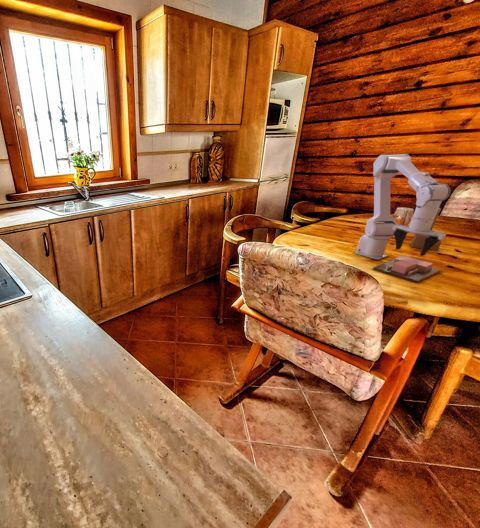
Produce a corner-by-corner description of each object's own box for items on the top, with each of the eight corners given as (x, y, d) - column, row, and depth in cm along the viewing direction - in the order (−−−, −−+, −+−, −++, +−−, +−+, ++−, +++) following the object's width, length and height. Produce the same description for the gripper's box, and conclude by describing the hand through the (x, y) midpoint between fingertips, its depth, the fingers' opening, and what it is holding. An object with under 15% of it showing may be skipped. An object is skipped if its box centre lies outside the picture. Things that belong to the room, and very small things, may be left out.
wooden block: (436, 248, 131) (452, 210, 124) (437, 251, 128) (454, 213, 121) (410, 244, 137) (424, 208, 130) (411, 247, 134) (425, 210, 127)
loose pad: (390, 269, 112) (393, 263, 111) (401, 266, 114) (403, 259, 113) (404, 274, 108) (406, 267, 107) (414, 270, 110) (417, 263, 109)
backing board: (372, 269, 115) (375, 261, 114) (396, 260, 122) (398, 253, 120) (416, 283, 103) (420, 274, 102) (439, 272, 110) (443, 264, 109)
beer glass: (383, 234, 152) (392, 207, 146) (395, 234, 152) (404, 206, 146) (395, 238, 145) (405, 210, 139) (407, 237, 146) (418, 209, 140)
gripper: (455, 220, 98) (440, 255, 104) (405, 212, 110) (393, 244, 116) (445, 223, 96) (430, 259, 101) (394, 215, 108) (383, 247, 113)
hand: (409, 251), depth 108 cm, fingers open, 7 cm apart
